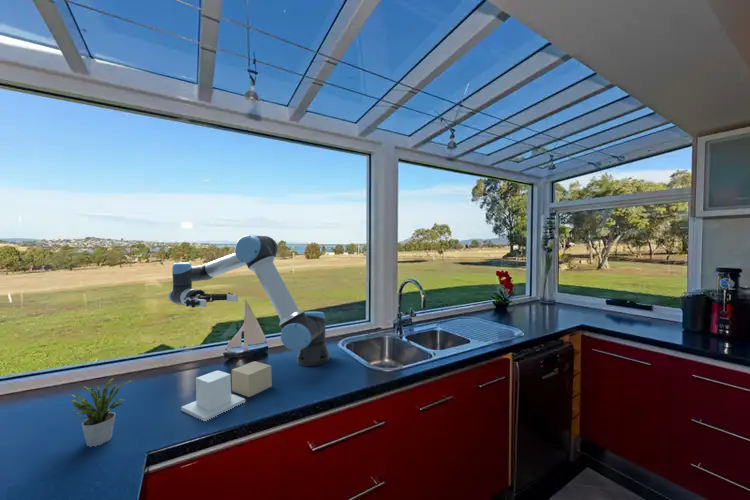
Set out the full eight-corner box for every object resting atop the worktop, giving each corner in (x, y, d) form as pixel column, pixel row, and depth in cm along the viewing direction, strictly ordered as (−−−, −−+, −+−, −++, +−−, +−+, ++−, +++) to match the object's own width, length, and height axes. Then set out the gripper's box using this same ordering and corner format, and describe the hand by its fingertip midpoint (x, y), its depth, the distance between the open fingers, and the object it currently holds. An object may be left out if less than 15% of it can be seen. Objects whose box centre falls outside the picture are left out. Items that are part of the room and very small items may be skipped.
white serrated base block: (221, 393, 114) (220, 365, 114) (245, 402, 106) (244, 372, 106) (181, 410, 102) (180, 379, 102) (205, 422, 94) (204, 388, 94)
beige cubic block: (254, 381, 124) (254, 361, 124) (271, 386, 118) (271, 365, 118) (232, 391, 115) (231, 369, 115) (249, 397, 110) (248, 374, 110)
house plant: (129, 418, 97) (128, 367, 97) (142, 434, 88) (141, 378, 88) (66, 441, 86) (64, 382, 86) (73, 462, 77) (72, 397, 77)
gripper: (220, 301, 149) (248, 304, 138) (163, 311, 128) (190, 315, 117) (220, 286, 149) (248, 288, 138) (162, 292, 128) (190, 295, 117)
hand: (221, 300), depth 127 cm, fingers open, 13 cm apart
